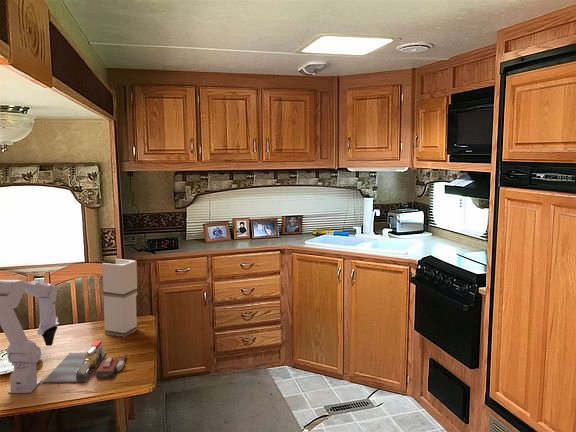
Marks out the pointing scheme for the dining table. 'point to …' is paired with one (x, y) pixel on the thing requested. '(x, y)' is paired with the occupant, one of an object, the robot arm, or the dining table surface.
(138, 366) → the dining table surface
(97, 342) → the valve lever
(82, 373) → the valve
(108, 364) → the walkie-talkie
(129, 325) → the tall square wastebasket
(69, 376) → the mounting board
